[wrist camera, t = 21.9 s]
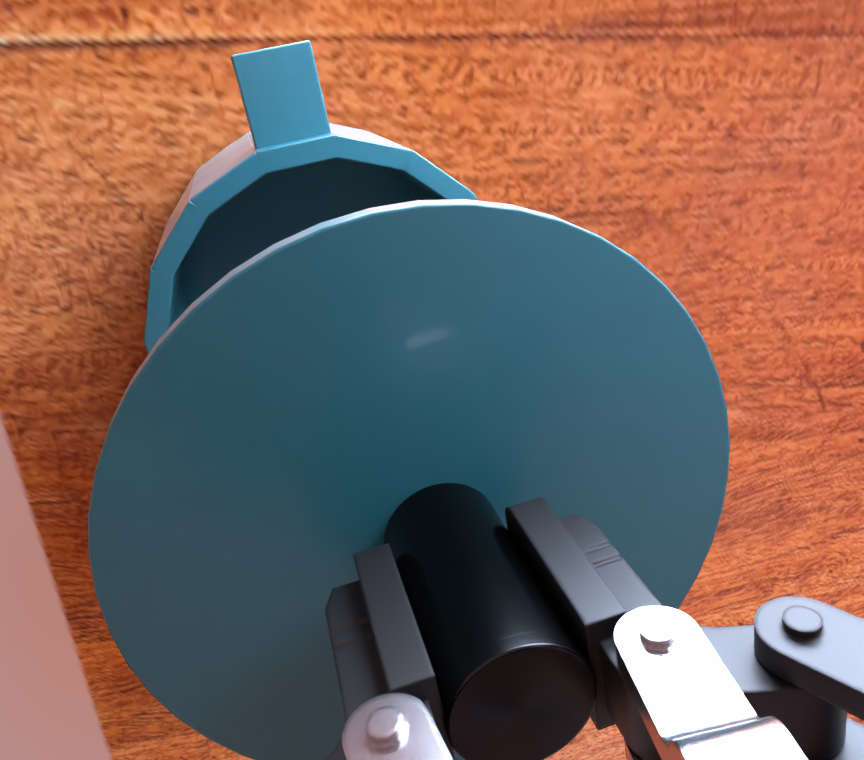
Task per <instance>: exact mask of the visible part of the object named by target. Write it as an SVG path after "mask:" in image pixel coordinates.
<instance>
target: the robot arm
mask: <svg viewBox="0 0 864 760" xmlns="http://www.w3.org/2000/svg"><path fill="white" fill-rule="evenodd" d="M505 517H506V523H507V529H508V532H509V533H510V535H511V537H512V538H513V540H514V541H515V543H516V545H517V546H518V548H519V549H520V551H521V553H522V554H523V556H524V558H525V559H526V561H527V562H528V564H529V566H530V567H531V569H532V571H533V572H534V574H535V575H536V577H537V579H538V580H539V582H540V584H541V585H542V587H543V588H544V590H545V592H546V593H547V595H548V597H549V598H550V600H551V601H552V603H553V605H554V606H555V608H556V610H557V611H558V613H559V614H560V616H561V618H562V619H563V621H564V622H565V624H566V626H567V627H568V629H569V631H570V632H571V634H572V635H573V637H574V639H575V640H576V642H577V644H578V645H579V647H580V648H581V650H582V652H583V653H584V655H585V657H586V658H587V660H588V661H589V663H590V665H591V666H592V668H593V670H594V673H595V676H596V681H597V696H596V702H595V705H594V708H593V711H592V713H591V715H590V717H591V719H592V721H593V722H594V724H595V726H596V728H597V729H598V730H601V729H603V728H606V727H609V726H612V725H614V724H616V726H617V727H618V729H619V731H620V732H621V734H622V736H623V737H624V742H625V752H626V759H627V760H864V726H863V725H861V724H860V723H858V722H856V721H854V720H852V719H850V718H848V717H847V712H848V713H850V714H852V715H854V716H856V717H858V718H860V719H862V720H864V619H862V618H860V617H857V616H855V615H852V614H850V613H848V612H845V611H843V610H840V609H838V608H835V607H833V606H831V605H828V604H826V603H823V602H821V601H818V600H815V599H811V598H807V597H800V596H785V597H779V598H775V599H772V600H770V601H768V602H766V603H764V604H763V605H762V606H761V607H760V608H759V609H758V610H757V612H756V614H755V617H754V625H745V626H729V627H706V626H700V625H698V624H697V623H696V621H695V620H694V619H692V618H691V617H690V616H689V615H687V614H686V613H684V612H682V611H680V610H677V609H674V608H671V607H666V606H662V605H661V604H660V602H659V601H658V600H657V599H656V597H655V596H654V595H653V594H652V593H651V591H650V590H649V589H648V588H647V586H646V585H645V584H644V583H643V582H642V580H641V579H640V578H639V577H638V575H637V574H636V573H635V572H634V571H633V569H632V568H631V567H630V566H629V564H628V563H627V562H626V561H625V559H624V558H621V556H620V553H619V552H618V551H617V550H616V548H615V547H614V546H613V545H612V544H610V542H609V540H608V539H607V537H606V536H605V535H604V534H603V533H602V531H601V530H600V529H599V528H598V526H597V525H596V524H594V523H592V522H590V521H588V520H586V519H584V518H582V517H580V516H579V515H577V514H575V513H574V514H571V515H568V516H565V517H562V518H558V517H557V516H556V514H555V513H554V512H553V510H552V509H551V507H550V506H549V505H548V503H547V502H546V501H545V500H544V498H542V497H539V498H535V499H532V500H529V501H525V502H522V503H519V504H516V505H512V506H509V507H506V509H505ZM352 555H353V558H354V562H355V566H356V570H357V573H358V577H359V580H358V581H355V582H352V583H349V584H345V585H342V586H339V587H336V588H333V589H332V591H331V594H330V597H329V599H328V602H327V605H326V608H325V614H326V619H327V624H328V629H329V633H330V640H331V645H332V649H333V656H334V661H335V666H336V672H337V677H338V682H339V687H340V693H341V698H342V703H343V709H344V715H345V723H344V729H343V733H342V735H341V738H340V740H339V742H338V744H337V745H336V747H335V748H334V750H333V751H332V752H331V753H330V755H329V756H328V757H327V758H326V759H325V760H455V757H454V753H453V749H452V746H451V744H450V742H449V740H448V737H447V734H446V731H445V725H444V711H443V707H442V702H441V698H440V694H439V690H438V686H437V681H436V677H435V674H434V671H433V668H432V665H431V662H430V660H429V657H428V654H427V651H426V648H425V645H424V642H423V640H422V637H421V634H420V631H419V628H418V625H417V623H416V620H415V617H414V614H413V611H412V608H411V605H410V603H409V600H408V597H407V594H406V591H405V588H404V585H403V583H402V580H401V577H400V574H399V571H398V568H397V565H396V563H395V560H394V557H393V554H392V551H391V548H390V546H389V543H387V544H384V545H380V546H377V547H374V548H371V549H367V550H364V551H361V552H358V553H354V554H352Z"/></svg>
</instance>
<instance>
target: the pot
mask: <svg viewBox="0 0 864 760" xmlns="http://www.w3.org/2000/svg"><path fill="white" fill-rule="evenodd" d="M231 61H232V65H233V68H234V72H235V76H236V79H237V83H238V87H239V91H240V94H241V98H242V102H243V105H244V109H245V113H246V116H247V120H248V124H249V128H250V132H248V133H246V134H244V135H243V136H242V137H240V138H239V139H237V140H236V141H235V142H233V143H232V144H230V145H228V146H227V147H225V148H224V149H222V150H221V151H220V152H219V153H217V154H216V155H215V156H214V157H213V158H211V159H210V160H209V161H207V162H206V163H205V164H203V165H202V166H200V167H199V168H198V170H196V172H195V174H194V175H193V177H192V179H191V181H190V183H189V184H188V186H187V188H186V190H185V191H184V193H183V194H182V196H181V198H180V200H179V202H178V204H177V205H176V207H175V209H174V211H173V213H172V214H171V216H170V218H169V220H168V222H167V225H166V227H165V230H164V233H163V236H162V238H161V241H160V244H159V246H158V249H157V252H156V255H155V257H154V260H153V263H152V266H151V268H150V274H149V286H148V299H147V311H146V323H145V335H144V344H145V348H146V351H147V353H148V354H149V353H150V351H151V350H152V348H153V347H154V346H155V344H156V343H157V341H158V340H159V339H160V337H161V336H162V335H163V334H164V333H165V332H166V331H167V330H168V329H169V328H170V327H171V325H172V324H173V323H174V322H175V321H176V320H177V319H178V318H179V317H180V316H181V315H182V313H183V312H184V311H185V310H186V309H187V308H188V307H189V306H190V305H191V304H192V303H193V302H194V301H195V300H196V299H198V298H199V297H200V296H201V295H202V294H204V293H205V292H206V291H207V290H208V289H210V288H211V287H212V286H213V285H214V284H216V283H217V282H218V281H219V280H221V279H222V278H223V277H224V276H225V275H227V274H228V273H229V272H230V271H232V270H233V269H235V268H236V267H238V266H240V265H241V264H243V263H244V262H246V261H248V260H249V259H251V258H252V257H254V256H256V255H257V254H259V253H260V252H262V251H264V250H265V249H267V248H268V247H270V246H272V245H273V244H275V243H277V242H279V241H282V240H284V239H286V238H288V237H290V236H293V235H295V234H297V233H299V232H301V231H304V230H306V229H308V228H310V227H312V226H315V225H317V224H319V223H321V222H325V221H328V220H331V219H335V218H338V217H341V216H344V215H348V214H351V213H354V212H358V211H361V210H364V209H368V208H373V207H379V206H385V205H391V204H397V203H403V202H409V201H416V200H445V199H469V200H477V198H476V196H475V195H474V193H472V191H471V190H469V189H468V188H466V187H465V186H464V185H462V184H461V183H459V182H458V181H457V180H455V179H454V178H452V177H451V176H449V175H448V174H447V173H445V172H444V171H442V170H441V169H439V168H438V167H437V166H435V165H434V164H432V163H431V162H429V161H428V160H427V159H425V158H424V157H422V156H421V155H419V154H418V153H417V152H415V151H414V150H411V149H409V148H407V147H404V146H402V145H400V144H397V143H395V142H393V141H390V140H388V139H386V138H383V137H381V136H379V135H376V134H374V133H371V132H369V131H366V130H361V129H356V128H351V127H346V126H342V125H338V124H332V123H329V121H328V117H327V112H326V108H325V103H324V99H323V95H322V90H321V86H320V81H319V77H318V73H317V68H316V64H315V59H314V55H313V51H312V46H311V42H310V41H309V40H306V41H301V42H296V43H291V44H286V45H281V46H276V47H271V48H266V49H261V50H255V51H250V52H245V53H240V54H235V55H232V56H231Z"/></svg>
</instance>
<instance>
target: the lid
mask: <svg viewBox="0 0 864 760" xmlns="http://www.w3.org/2000/svg"><path fill="white" fill-rule="evenodd" d="M729 452H730V439H729V427H728V415H727V408H726V403H725V399H724V395H723V390H722V386H721V382H720V377H719V375H718V372H717V369H716V367H715V364H714V362H713V359H712V357H711V354H710V352H709V349H708V347H707V344H706V342H705V340H704V339H703V337H702V335H701V334H700V332H699V330H698V329H697V327H696V325H695V323H694V322H693V320H692V318H691V317H690V315H689V313H688V312H687V310H686V309H685V308H684V307H683V306H682V304H681V303H680V302H679V301H678V300H677V298H676V297H675V296H674V295H673V294H672V292H671V291H670V290H669V289H668V288H667V286H666V285H665V284H664V283H663V282H662V281H661V280H660V279H659V278H657V277H656V276H655V275H654V274H653V273H652V272H651V271H649V270H648V269H647V268H646V267H645V266H644V265H643V264H641V263H640V262H639V261H638V260H637V259H636V258H635V257H633V256H631V255H630V254H628V253H627V252H625V251H623V250H622V249H620V248H619V247H617V246H615V245H614V244H612V243H611V242H609V241H607V240H606V239H604V238H603V237H601V236H599V235H597V234H595V233H592V232H590V231H588V230H585V229H583V228H581V227H579V226H576V225H574V224H572V223H569V222H567V221H565V220H562V219H560V218H558V217H555V216H553V215H549V214H546V213H542V212H538V211H534V210H530V209H527V208H523V207H519V206H515V205H512V204H504V203H496V202H487V201H478V200H469V199H445V200H416V201H409V202H403V203H397V204H391V205H385V206H379V207H373V208H368V209H364V210H361V211H358V212H354V213H351V214H348V215H344V216H341V217H338V218H335V219H331V220H328V221H325V222H321V223H319V224H317V225H315V226H312V227H310V228H308V229H306V230H304V231H301V232H299V233H297V234H295V235H293V236H290V237H288V238H286V239H284V240H282V241H279V242H277V243H275V244H273V245H272V246H270V247H268V248H267V249H265V250H264V251H262V252H260V253H259V254H257V255H256V256H254V257H252V258H251V259H249V260H248V261H246V262H244V263H243V264H241V265H240V266H238V267H236V268H235V269H233V270H232V271H230V272H229V273H228V274H227V275H225V276H224V277H223V278H222V279H221V280H219V281H218V282H217V283H216V284H214V285H213V286H212V287H211V288H210V289H208V290H207V291H206V292H205V293H204V294H202V295H201V296H200V297H199V298H198V299H196V300H195V301H194V302H193V303H192V304H191V305H190V306H189V307H188V308H187V309H186V310H185V311H184V312H183V313H182V315H181V316H180V317H179V318H178V319H177V320H176V321H175V322H174V323H173V324H172V325H171V327H170V328H169V329H168V330H167V331H166V332H165V333H164V334H163V335H162V336H161V337H160V339H159V340H158V341H157V343H156V344H155V346H154V347H153V348H152V350H151V351H150V353H149V354H148V356H147V357H146V359H145V360H144V362H143V363H142V364H141V366H140V367H139V369H138V370H137V372H136V373H135V375H134V376H133V378H132V379H131V381H130V383H129V385H128V387H127V389H126V391H125V393H124V395H123V397H122V399H121V401H120V403H119V405H118V407H117V410H116V412H115V414H114V416H113V418H112V420H111V422H110V426H109V429H108V432H107V435H106V438H105V441H104V445H103V448H102V451H101V454H100V457H99V460H98V464H97V467H96V470H95V473H94V480H93V487H92V494H91V500H90V507H89V514H88V534H89V561H90V566H91V571H92V577H93V582H94V587H95V593H96V597H97V600H98V603H99V605H100V608H101V611H102V614H103V616H104V619H105V622H106V624H107V627H108V630H109V633H110V634H111V636H112V638H113V640H114V641H115V643H116V645H117V647H118V648H119V650H120V652H121V654H122V655H123V657H124V659H125V661H126V662H127V664H128V666H129V667H130V668H131V670H132V671H133V672H134V673H135V675H136V676H137V677H138V678H139V680H140V681H141V682H142V683H143V685H144V686H145V687H146V688H147V689H148V691H149V692H150V693H151V694H152V695H153V696H154V697H155V698H156V699H157V700H158V701H159V702H160V703H161V704H162V705H164V706H165V707H166V708H167V709H168V710H169V711H170V712H171V713H172V714H174V715H175V716H176V717H177V718H178V719H179V720H181V721H182V722H184V723H185V724H187V725H188V726H190V727H191V728H193V729H194V730H196V731H197V732H199V733H200V734H202V735H203V736H205V737H206V738H207V739H209V740H211V741H213V742H215V743H217V744H219V745H221V746H223V747H226V748H228V749H230V750H232V751H234V752H236V753H238V754H240V755H242V756H245V757H248V758H251V759H254V760H325V759H326V758H327V757H328V756H329V755H330V753H331V752H332V751H333V750H334V748H335V747H336V745H337V744H338V742H339V740H340V738H341V735H342V733H343V729H344V723H345V715H344V709H343V703H342V698H341V693H340V687H339V682H338V677H337V672H336V666H335V661H334V656H333V649H332V645H331V640H330V633H329V629H328V624H327V619H326V614H325V608H326V605H327V602H328V599H329V597H330V594H331V591H332V589H333V588H336V587H339V586H342V585H345V584H349V583H352V582H355V581H358V580H359V577H358V573H357V570H356V566H355V562H354V558H353V555H352V554H354V553H358V552H361V551H364V550H367V549H371V548H374V547H377V546H380V545H384V544H387V543H389V546H390V548H391V551H392V554H393V557H394V560H395V563H396V565H397V568H398V571H399V574H400V577H401V580H402V583H403V585H404V588H405V591H406V594H407V597H408V600H409V603H410V605H411V608H412V611H413V614H414V617H415V620H416V623H417V625H418V628H419V631H420V634H421V637H422V640H423V642H424V645H425V648H426V651H427V654H428V657H429V660H430V662H431V665H432V668H433V671H434V674H435V677H436V681H437V686H438V690H439V694H440V698H441V702H442V707H443V711H444V725H445V731H446V734H447V737H448V740H449V742H450V744H451V746H452V749H453V753H454V757H455V760H544V759H545V758H547V757H549V756H551V755H553V754H554V753H556V752H558V751H559V750H560V749H562V748H563V747H564V746H566V745H567V744H568V743H569V742H570V741H571V740H572V739H573V738H575V736H576V735H577V734H578V733H579V732H580V731H581V730H582V728H583V727H584V725H585V724H586V723H587V721H588V719H589V717H590V715H591V713H592V711H593V708H594V705H595V702H596V696H597V681H596V676H595V673H594V670H593V668H592V666H591V665H590V663H589V661H588V660H587V658H586V657H585V655H584V653H583V652H582V650H581V648H580V647H579V645H578V644H577V642H576V640H575V639H574V637H573V635H572V634H571V632H570V631H569V629H568V627H567V626H566V624H565V622H564V621H563V619H562V618H561V616H560V614H559V613H558V611H557V610H556V608H555V606H554V605H553V603H552V601H551V600H550V598H549V597H548V595H547V593H546V592H545V590H544V588H543V587H542V585H541V584H540V582H539V580H538V579H537V577H536V575H535V574H534V572H533V571H532V569H531V567H530V566H529V564H528V562H527V561H526V559H525V558H524V556H523V554H522V553H521V551H520V549H519V548H518V546H517V545H516V543H515V541H514V540H513V538H512V537H511V535H510V533H509V532H508V529H507V523H506V517H505V509H506V507H509V506H512V505H516V504H519V503H522V502H525V501H529V500H532V499H535V498H539V497H542V498H544V500H545V501H546V502H547V503H548V505H549V506H550V507H551V509H552V510H553V512H554V513H555V514H556V516H557V517H558V518H562V517H565V516H568V515H571V514H574V513H575V514H577V515H579V516H580V517H582V518H584V519H586V520H588V521H590V522H592V523H594V524H596V525H597V526H598V528H599V529H600V530H601V531H602V533H603V534H604V535H605V536H606V537H607V539H608V540H609V542H610V544H612V545H613V546H614V547H615V548H616V550H617V551H618V552H619V553H620V556H621V558H624V559H625V561H626V562H627V563H628V564H629V566H630V567H631V568H632V569H633V571H634V572H635V573H636V574H637V575H638V577H639V578H640V579H641V580H642V582H643V583H644V584H645V585H646V586H647V588H648V589H649V590H650V591H651V593H652V594H653V595H654V596H655V597H656V599H657V600H658V601H659V602H660V604H661V605H662V606H666V607H671V608H674V609H677V610H678V608H679V607H680V606H681V604H682V602H683V600H684V599H685V597H686V595H687V593H688V592H689V590H690V588H691V587H692V585H693V583H694V581H695V580H696V578H697V576H698V574H699V572H700V570H701V567H702V565H703V563H704V561H705V558H706V556H707V554H708V552H709V549H710V547H711V545H712V542H713V539H714V535H715V532H716V529H717V526H718V523H719V519H720V516H721V513H722V508H723V503H724V498H725V492H726V487H727V481H728V470H729Z"/></svg>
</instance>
